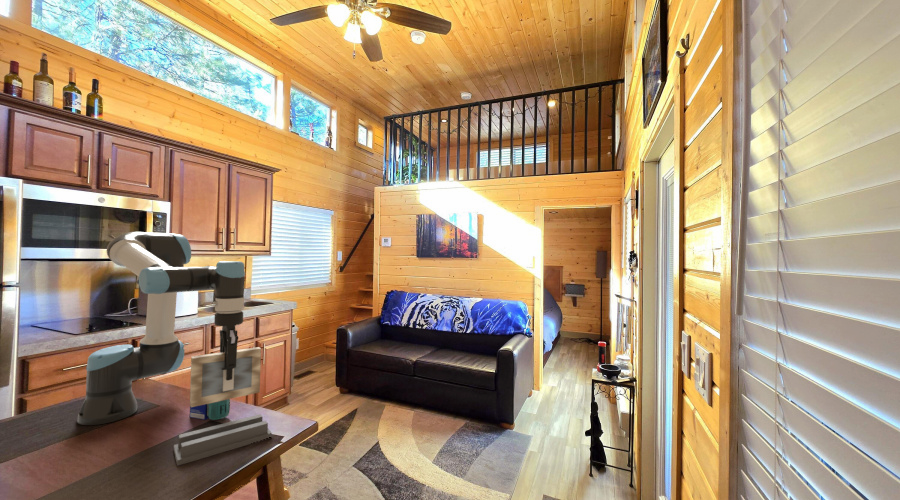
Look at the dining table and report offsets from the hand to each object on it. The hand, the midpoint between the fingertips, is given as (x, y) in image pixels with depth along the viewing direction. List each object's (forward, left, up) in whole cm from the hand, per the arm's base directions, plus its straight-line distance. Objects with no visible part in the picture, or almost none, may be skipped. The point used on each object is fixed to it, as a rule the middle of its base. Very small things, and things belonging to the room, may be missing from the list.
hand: (226, 388), depth 110 cm
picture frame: (0, 0, -3) cm, 3 cm away
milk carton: (-22, -14, -17) cm, 31 cm away
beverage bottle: (-17, -8, -17) cm, 26 cm away
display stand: (0, 0, -17) cm, 17 cm away
